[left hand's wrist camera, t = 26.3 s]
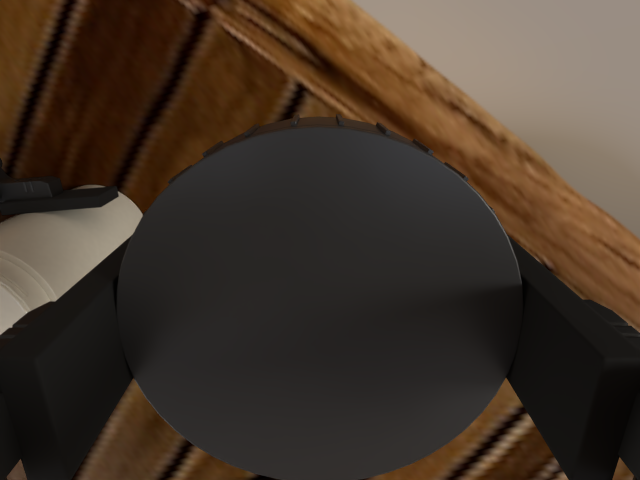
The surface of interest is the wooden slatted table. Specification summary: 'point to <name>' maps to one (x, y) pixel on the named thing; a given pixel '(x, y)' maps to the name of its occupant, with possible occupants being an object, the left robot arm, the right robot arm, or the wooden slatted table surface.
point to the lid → (319, 301)
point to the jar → (57, 251)
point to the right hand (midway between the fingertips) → (124, 257)
